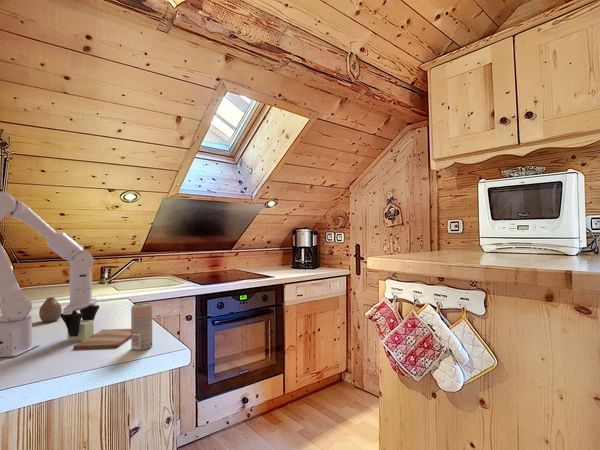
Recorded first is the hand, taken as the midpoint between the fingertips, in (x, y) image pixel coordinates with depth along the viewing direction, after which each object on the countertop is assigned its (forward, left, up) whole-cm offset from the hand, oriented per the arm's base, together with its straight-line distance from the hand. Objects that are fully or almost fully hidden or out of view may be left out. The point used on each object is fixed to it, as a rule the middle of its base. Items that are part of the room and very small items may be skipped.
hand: (81, 332), depth 105 cm
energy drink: (-12, -23, -2) cm, 26 cm away
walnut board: (-3, -10, -2) cm, 11 cm away
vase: (+24, +24, -2) cm, 34 cm away
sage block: (0, 0, -2) cm, 2 cm away
